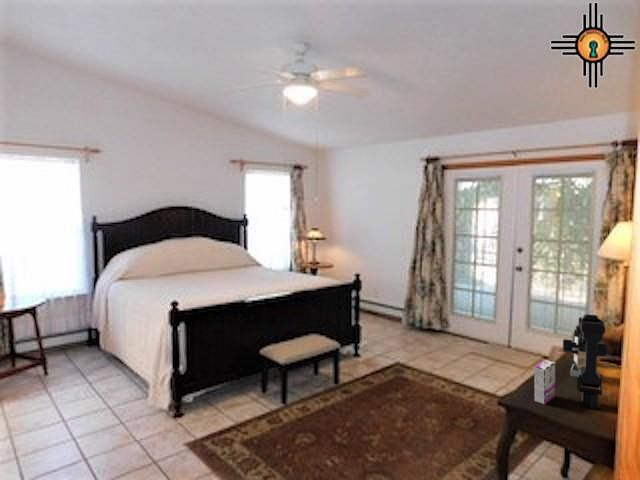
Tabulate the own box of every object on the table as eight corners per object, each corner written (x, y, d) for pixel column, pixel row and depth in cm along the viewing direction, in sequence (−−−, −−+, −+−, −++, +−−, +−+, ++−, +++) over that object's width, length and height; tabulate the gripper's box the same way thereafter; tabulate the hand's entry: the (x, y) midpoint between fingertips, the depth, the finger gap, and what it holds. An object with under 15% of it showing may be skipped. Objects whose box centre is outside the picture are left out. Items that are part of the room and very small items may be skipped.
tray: (594, 380, 211) (594, 375, 210) (570, 376, 217) (570, 370, 217) (596, 373, 219) (596, 367, 219) (572, 369, 225) (572, 363, 225)
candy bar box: (544, 393, 200) (544, 359, 198) (555, 396, 196) (556, 362, 194) (533, 401, 193) (533, 366, 191) (544, 405, 189) (545, 369, 187)
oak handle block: (589, 371, 214) (590, 346, 213) (577, 369, 216) (578, 344, 215) (588, 367, 218) (589, 343, 217) (577, 366, 221) (577, 341, 220)
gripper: (607, 328, 208) (604, 343, 218) (563, 324, 216) (562, 338, 227) (609, 349, 201) (605, 363, 212) (563, 344, 210) (562, 358, 221)
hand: (583, 355), depth 218 cm, fingers closed on oak handle block, 5 cm apart
